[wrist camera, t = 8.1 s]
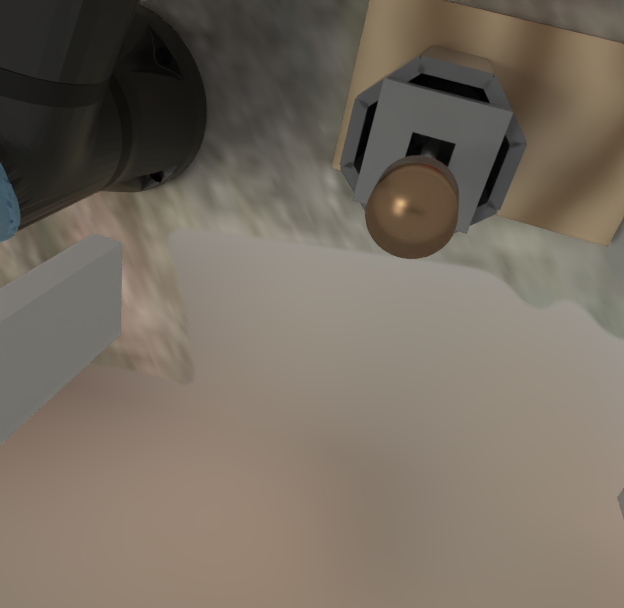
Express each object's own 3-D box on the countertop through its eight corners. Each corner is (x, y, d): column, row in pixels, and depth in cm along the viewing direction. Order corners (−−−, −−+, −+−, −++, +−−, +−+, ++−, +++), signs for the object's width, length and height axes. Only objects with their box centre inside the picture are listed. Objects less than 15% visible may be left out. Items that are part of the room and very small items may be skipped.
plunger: (379, 159, 40) (314, 265, 23) (405, 65, 36) (350, 109, 20) (466, 183, 39) (463, 311, 22) (500, 89, 36) (528, 157, 19)
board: (334, 164, 44) (331, 167, 43) (376, -16, 37) (373, -17, 36) (604, 240, 41) (607, 246, 40) (700, 62, 35) (707, 63, 34)
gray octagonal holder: (353, 193, 44) (317, 248, 33) (393, 34, 37) (365, 42, 27) (468, 226, 42) (468, 293, 32) (529, 68, 36) (553, 90, 26)
